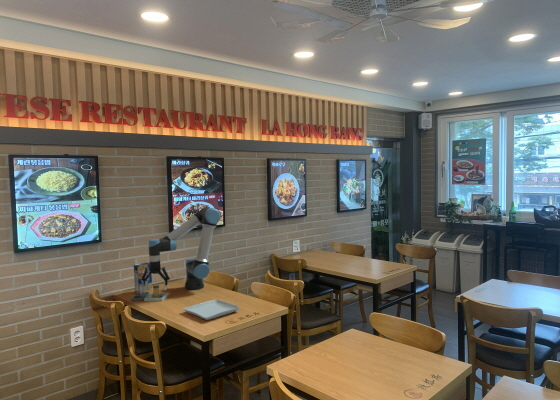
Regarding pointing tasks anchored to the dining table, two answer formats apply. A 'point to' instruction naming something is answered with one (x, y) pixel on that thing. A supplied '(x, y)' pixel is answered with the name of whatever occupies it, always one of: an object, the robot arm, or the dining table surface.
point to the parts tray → (156, 298)
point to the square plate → (211, 309)
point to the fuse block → (139, 297)
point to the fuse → (142, 289)
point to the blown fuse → (156, 291)
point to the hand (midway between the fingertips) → (156, 289)
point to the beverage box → (138, 275)
